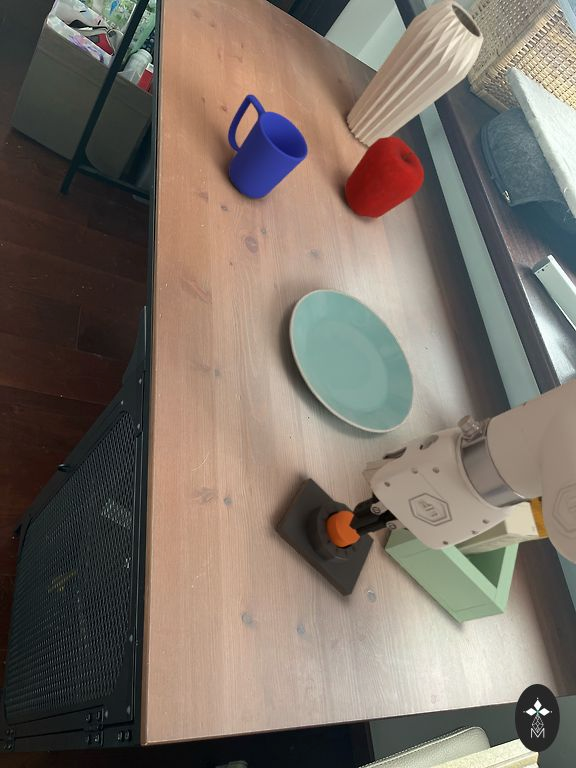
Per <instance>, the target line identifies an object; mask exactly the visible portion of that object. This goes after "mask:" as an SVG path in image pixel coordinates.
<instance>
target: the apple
mask: <svg viewBox="0 0 576 768" xmlns="http://www.w3.org/2000/svg"><path fill="white" fill-rule="evenodd" d="M424 176H425V171H424V167H423V165H422V163H421V161H420V158H419V157H418V156H417V155H416V153H415V151H413V150H412V149H411V147H409V146H408V144H407V143H405V141H403V140H402V139H401V138H399V137H396V136H389V137H386V138H379V139H378V140H377V141H376V142H374V143H373V144H372V145H371V146H370V147H368V148H367V150H366V151H365V153H364V154H363V156H362V157H361V159H360V160H359V162H358V163H357V165H356V166H355V168H354V169H353V170H352V172H351V173H350V175H349V176H348V177H347V179H346V181H345V199H346V202H347V204H348V206H349V207H350V209H351V210H352V211H353V213H354V214H356V215H358V216H360V217H366V218H372V219H378V218H380V217H382V216H385V214H387V213H388V212H390V211H392V210H393V209H394V208H396V207H398V206H399V205H401V204H403V203H404V202H405V201H407V200H409V199H410V198H413V196H414V195H415V194H416V193H417V192H418V191H419V190H420V189H421V188H422V186H423V183H424V178H425V177H424Z"/></svg>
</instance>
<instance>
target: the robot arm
mask: <svg viewBox="0 0 576 768" xmlns="http://www.w3.org/2000/svg"><path fill="white" fill-rule="evenodd" d="M361 474H362V476H363V478H364V480H365V481H366V482H367V484H368V486H369V487H370V489H371V495H372V496H371V497H370V498H368V499H365V500H363V501H361V502H359V503H357V504H356V505H355V507H354V509H353V510H352V511H353V514H354V516H353V518H352V520H351V522H350V524H349V526H350V527H351V528H352V529H355V530H356V533H357V534H358V535H359V536H362V535H364V534H367V533H368V534H369V533H376V532H378V531H381V530H383V529H386V528H387V529H389V530H390V531H392V530H398V529H405V530H409V531H411V532H412V533H413V534H414V535H415V536H416V537H417V538H418V539H419V540H420V541H421V542H422V543H423V544H425V545H426V546H428V547H429V548H432V549H443V548H447V547H450V546H452V545H455V544H458V543H460V542H463V541H465V540H468V539H470V538H472V537H474V536H476V535H479V534H481V533H483V532H485V531H487V530H488V529H490V528H492V527H494V526H495V525H497V524H498V523H500V522H502V521H503V520H505V519H506V518H507V517H509V516H510V515H512V514H513V513H514V511H515V507H516V505H517V504H520V503H523V502H525V501H528V500H531V499H534V498H537V497H540V496H542V512H543V519H544V525H545V528H546V532H547V535H548V537H547V538H548V539H549V541H550V543H551V545H552V546H553V547H554V549H555V550H556V551H557V552H558V553H559V554H560V555H561V556H562V557H563V558H565V559H566V560H568V561H569V562H570V563H572V564H574V565H576V377H575V378H573V379H570V380H569V381H566V382H564V383H563V384H560V385H559V386H556V387H554V388H552V389H550V390H547V391H546V392H543V393H541V394H540V395H537V396H535V397H533V398H531V399H529V400H527V401H525V402H522V403H521V404H518V405H517V406H514V407H513V408H510V409H508V410H506V411H504V412H502V413H500V414H498V415H496V416H493V417H491V418H490V417H486V418H484V419H483V420H480V421H478V420H476V419H473V417H472V416H471V415H469V414H467V415H465V416H463V417H461V418H460V420H459V421H458V422H457V426H456V427H451V428H447V429H443V430H439V431H436V432H435V431H434V432H431V433H429V434H426V435H423V436H420V437H418V438H414V439H413V440H410V441H407V442H405V443H403V444H401V445H399V446H396V447H394V448H393V449H391V450H389V451H387V452H386V453H384V454H383V455H382V459H381V460H375V461H370V462H367V463H366V464H365V466H364V468H363V470H362V472H361Z"/></svg>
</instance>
